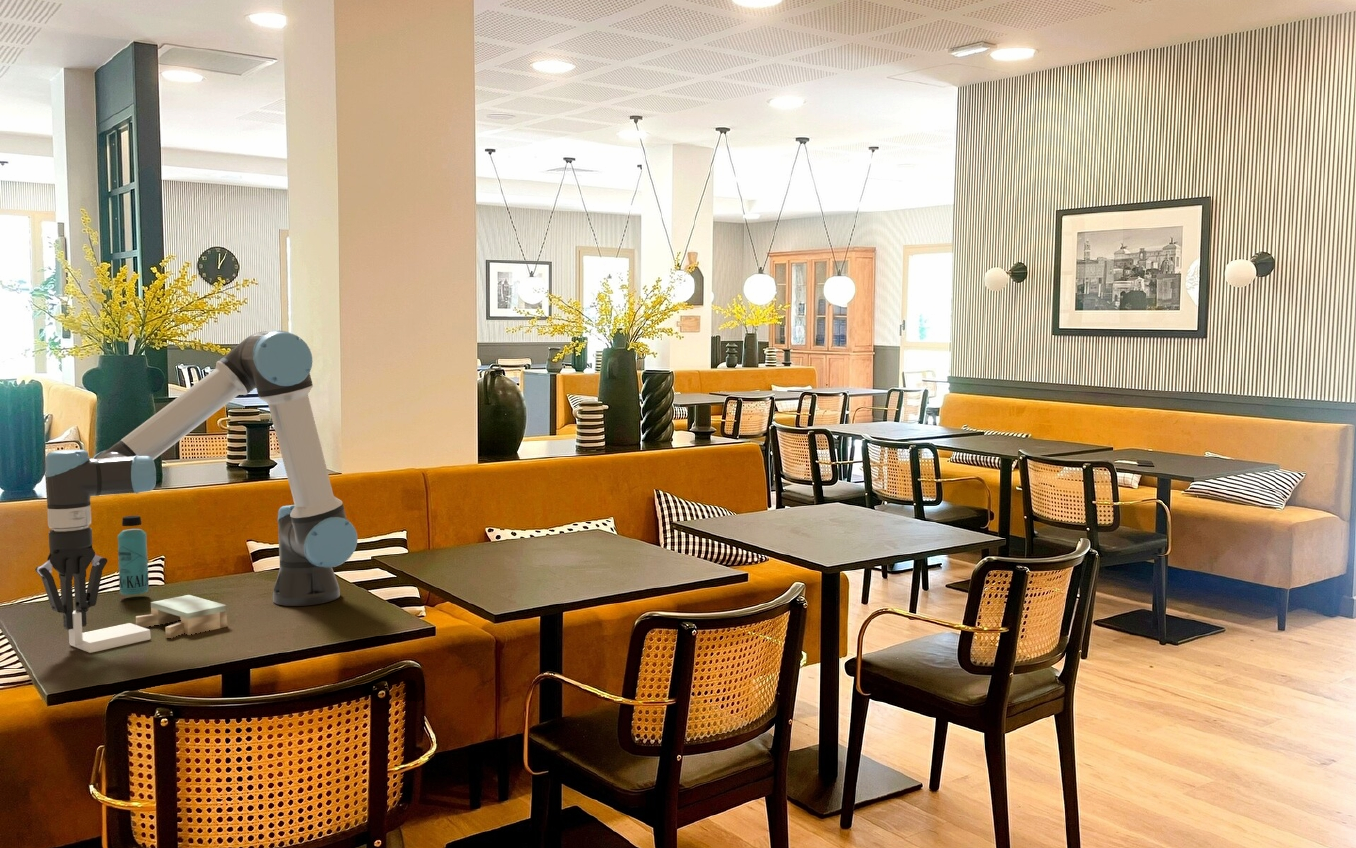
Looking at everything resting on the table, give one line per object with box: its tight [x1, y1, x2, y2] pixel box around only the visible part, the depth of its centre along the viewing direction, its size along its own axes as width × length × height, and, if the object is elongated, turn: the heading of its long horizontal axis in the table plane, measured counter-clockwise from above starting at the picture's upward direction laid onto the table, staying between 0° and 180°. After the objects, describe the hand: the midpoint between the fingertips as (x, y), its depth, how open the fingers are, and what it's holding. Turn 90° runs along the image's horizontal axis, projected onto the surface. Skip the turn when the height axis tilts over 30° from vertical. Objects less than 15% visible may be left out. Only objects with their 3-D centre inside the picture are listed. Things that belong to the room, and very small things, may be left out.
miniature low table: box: [135, 594, 228, 639], centre depth 230 cm, size 13×16×5 cm
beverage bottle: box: [117, 515, 150, 596], centre depth 256 cm, size 6×7×20 cm
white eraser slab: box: [69, 622, 152, 654], centre depth 219 cm, size 12×9×2 cm
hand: (76, 643), depth 213 cm, fingers closed
